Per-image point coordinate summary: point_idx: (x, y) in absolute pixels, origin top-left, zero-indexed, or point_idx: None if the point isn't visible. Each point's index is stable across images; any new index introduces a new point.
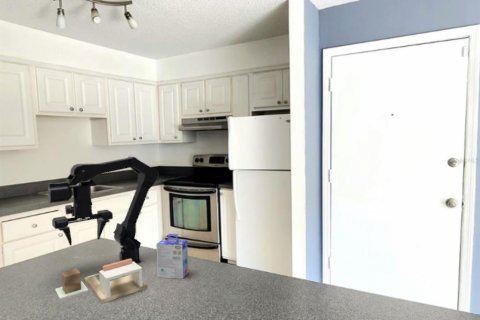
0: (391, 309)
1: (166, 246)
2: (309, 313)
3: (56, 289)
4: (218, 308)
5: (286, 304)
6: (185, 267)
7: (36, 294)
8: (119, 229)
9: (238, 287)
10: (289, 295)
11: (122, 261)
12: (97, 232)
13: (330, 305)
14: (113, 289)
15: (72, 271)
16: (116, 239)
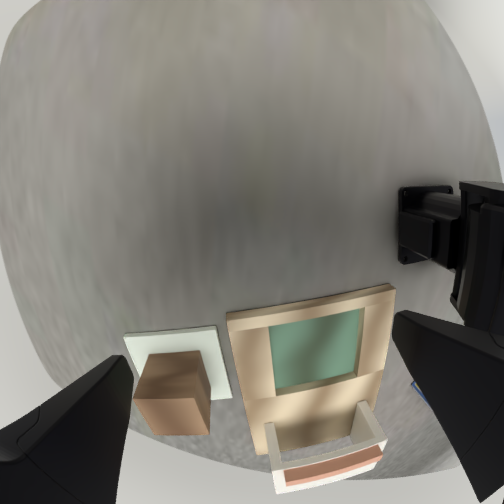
0: (452, 464)
1: None
2: (424, 472)
3: (129, 345)
4: (387, 470)
5: (429, 463)
6: None
7: (76, 323)
8: None
9: (442, 435)
10: (446, 450)
11: (352, 468)
12: (439, 348)
13: (442, 462)
14: (295, 431)
15: (177, 414)
16: (476, 264)
